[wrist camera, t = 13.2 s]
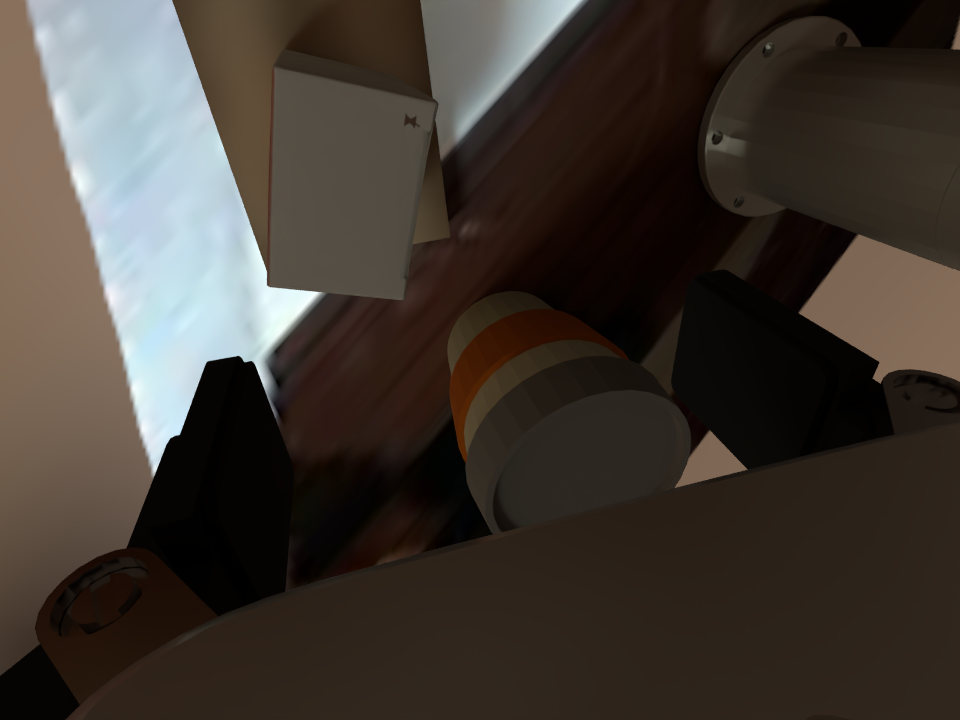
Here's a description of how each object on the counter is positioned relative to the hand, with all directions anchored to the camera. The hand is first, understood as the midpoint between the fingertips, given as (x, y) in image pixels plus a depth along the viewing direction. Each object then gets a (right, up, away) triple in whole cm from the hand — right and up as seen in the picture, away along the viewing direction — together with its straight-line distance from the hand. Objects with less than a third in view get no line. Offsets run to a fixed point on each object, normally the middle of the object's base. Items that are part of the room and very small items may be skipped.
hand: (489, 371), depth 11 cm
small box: (-8, +12, +17) cm, 22 cm away
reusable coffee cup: (+2, +2, +29) cm, 29 cm away
